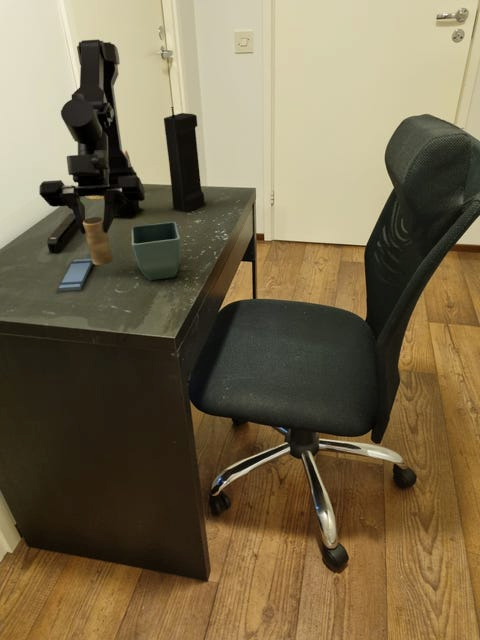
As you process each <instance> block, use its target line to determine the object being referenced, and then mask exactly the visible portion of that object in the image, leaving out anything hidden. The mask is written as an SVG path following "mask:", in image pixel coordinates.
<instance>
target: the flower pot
mask: <svg viewBox="0 0 480 640" xmlns="http://www.w3.org/2000/svg"><path fill="white" fill-rule="evenodd" d="M130 231H131V246H132V250H133V253H134V256H135V259H136V262H137V266H138V268H139V269H140V271H141V273H142V274H143V275H144V277H146V278H147V280H149V281H154V280H155V281H156V280H161V279H162V280H163V279H169V278H175V276H176V274H177V272H178V271H179V267H180V263H181V237H180V233H179V230H178V226H177V222H176V221H167V222H159V223H150V224H142V225H141V224H140V225H134V226H131V227H130Z"/></svg>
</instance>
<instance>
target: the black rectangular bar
mask: <svg viewBox="0 0 480 640" xmlns="http://www.w3.org/2000/svg"><path fill="white" fill-rule="evenodd" d="M78 230H79V226H78V223H77V220H76V218H75V215H74V212H71V213H69V214H67V216H66V217H65V218H64V220H62V222H61V223H60V224H59V225H58V226H57V227H56V229H55V230H54V231H53V232H52V233H51V234H50V236H48V238H47V240H46V245H47V248H48V251H49V253H60V252H61V251H62V250H63V249H64V248H65V246H66V245H67V244H68V242H69V241H70V240H71V238H73V236H74V234H75V233H76V232H77V231H78Z"/></svg>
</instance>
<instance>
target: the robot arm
mask: <svg viewBox="0 0 480 640" xmlns="http://www.w3.org/2000/svg"><path fill="white" fill-rule="evenodd" d="M76 51H77V56H78V61H79V62H78V63H79V65H80V68H79V69H80V70H79V72H80V73H79V87H78V88H77V89H76V90H75V91H74V92H73V93H71V99H69V100H68V101H67V102H65V104H63V106H62V107H61V110H60V116H61V119H62V121H63V122H64V125H65V126H66V128H67V130H68V132H69V133H70V135H71V137H72V139H73V141H74V142H75V143H77V154H73V155H67V156H66V163H67V173H68V175H69V176H72V181H73V182H74V183H77V186H76V185H72V184H68V185H67V184H65V183H64V182H63V181H62V180H61V179H59V180H45V181H44V180H43V181H42V182H41V183H40V185H39V191H38V192H39V196H41V198H42V199H43V200H44V202H46V204H48V205H49V206H50V207H54V208H56V207H57V208H58V207H67V208H68V209H70V210H71V211H72V213H74V215H75V218H76V220H77V223H78V226H79V228H78V230H79V231H80V233H81V235H86V234H85V230H84V226H83V221H84V220H85V219H86V206H85V204H84V203H83V202H82V201H81V199H82V197H97V196H98V197H99V196H100V195H104V196H103V200H104V204H103V205H104V206H103V218H104V219H103V228H104V232H105V233H107V234H108V233H109V230H110V227H111V225H112V223H113V222H114V219H115V218H120V219H132V218H133V217H135V216H136V215H137V214H138V213H139V212H140V211H142V207H140V202H143V201H145V200H146V198H145V195H146V194H145V187H144V185H143V183H142V181H141V178H140V177H139V176H138V174H137V172H136V171H135V169H134V166H132V163H131V159H130V158H129V159H130V160H129V159H128V158H127V156H126V155H125V151H124V150H123V145H122V139H121V131H120V123H119V117H118V109H117V102H116V94H115V87H114V86H115V83H116V81H117V79H118V77H119V65H120V53H119V50H118V47H117V45H115V44H114V43H112V42H111V41H108V42H106V41H104V40H100V39H99V38H98V39H85V40H84V39H83V40H82V39H81V41H79V42H78V45H77V46H76ZM130 163H131V164H130ZM131 166H132V167H131Z"/></svg>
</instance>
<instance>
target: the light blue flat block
mask: <svg viewBox="0 0 480 640" xmlns="http://www.w3.org/2000/svg"><path fill="white" fill-rule="evenodd" d="M93 265H94V264H93V261H92V258H79V259H73V261H71V264H70V266H69V268H68V270H67V271H66V273H65V275H64V278H63V279H62V280H61V282H60V283H59V287H58V290H59V292H70V291H72V292H73V291H81V290H82V288H83V285H84V284H85V282H86V280H87V276H88V275H89V272H90V270H91V268H92V266H93Z"/></svg>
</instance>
